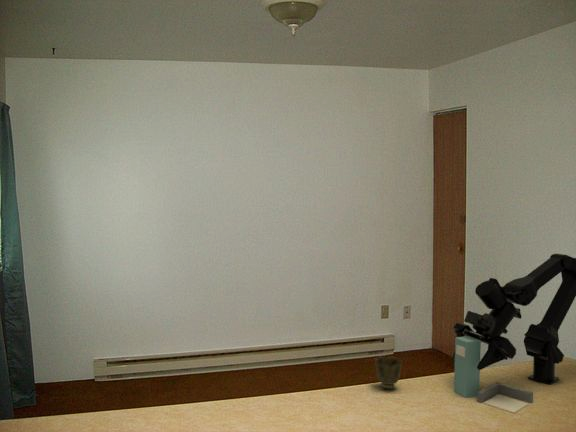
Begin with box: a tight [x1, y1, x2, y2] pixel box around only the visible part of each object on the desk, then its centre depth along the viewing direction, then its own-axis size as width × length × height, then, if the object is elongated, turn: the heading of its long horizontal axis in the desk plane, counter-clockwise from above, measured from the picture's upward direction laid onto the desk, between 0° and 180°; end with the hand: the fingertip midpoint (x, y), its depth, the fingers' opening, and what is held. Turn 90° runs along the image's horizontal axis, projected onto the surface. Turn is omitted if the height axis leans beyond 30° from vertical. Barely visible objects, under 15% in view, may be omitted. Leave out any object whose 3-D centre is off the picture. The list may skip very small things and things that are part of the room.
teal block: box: [453, 336, 482, 399], centre depth 145 cm, size 5×5×15 cm
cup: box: [374, 355, 403, 391], centre depth 148 cm, size 8×7×8 cm
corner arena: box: [476, 381, 534, 414], centre depth 140 cm, size 11×10×2 cm
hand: (465, 363), depth 145 cm, fingers open, 9 cm apart
